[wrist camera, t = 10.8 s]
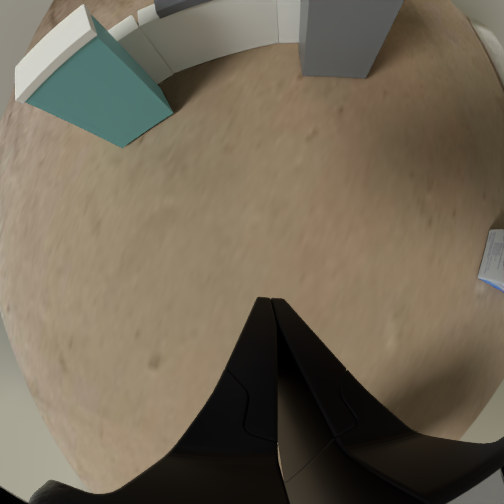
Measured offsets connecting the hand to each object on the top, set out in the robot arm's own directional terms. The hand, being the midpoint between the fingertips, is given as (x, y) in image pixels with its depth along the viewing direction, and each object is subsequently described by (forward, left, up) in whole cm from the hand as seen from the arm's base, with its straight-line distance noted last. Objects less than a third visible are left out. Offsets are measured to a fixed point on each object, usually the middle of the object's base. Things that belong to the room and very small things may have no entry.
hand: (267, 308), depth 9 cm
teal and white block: (+14, -8, -10) cm, 19 cm away
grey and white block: (+1, -17, -10) cm, 20 cm away
